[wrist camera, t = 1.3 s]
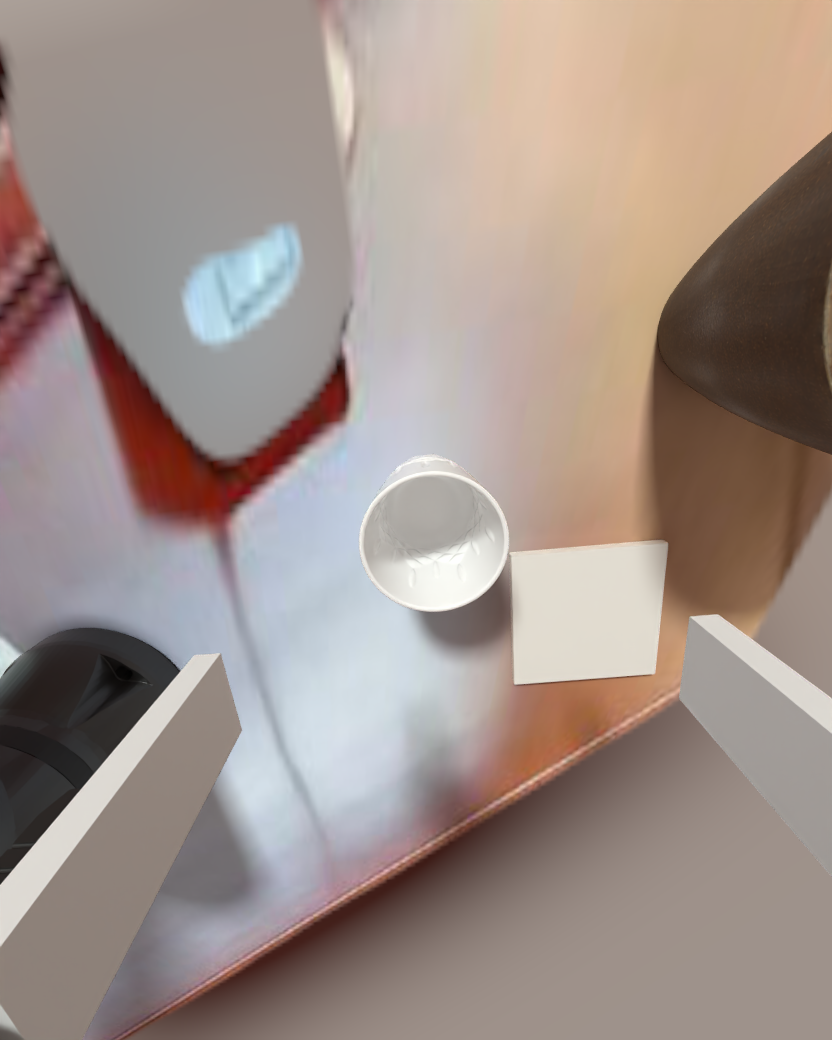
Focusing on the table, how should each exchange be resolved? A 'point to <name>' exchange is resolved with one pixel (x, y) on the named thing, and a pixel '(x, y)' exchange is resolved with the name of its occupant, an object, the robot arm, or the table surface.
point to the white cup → (433, 536)
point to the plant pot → (764, 309)
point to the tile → (586, 611)
